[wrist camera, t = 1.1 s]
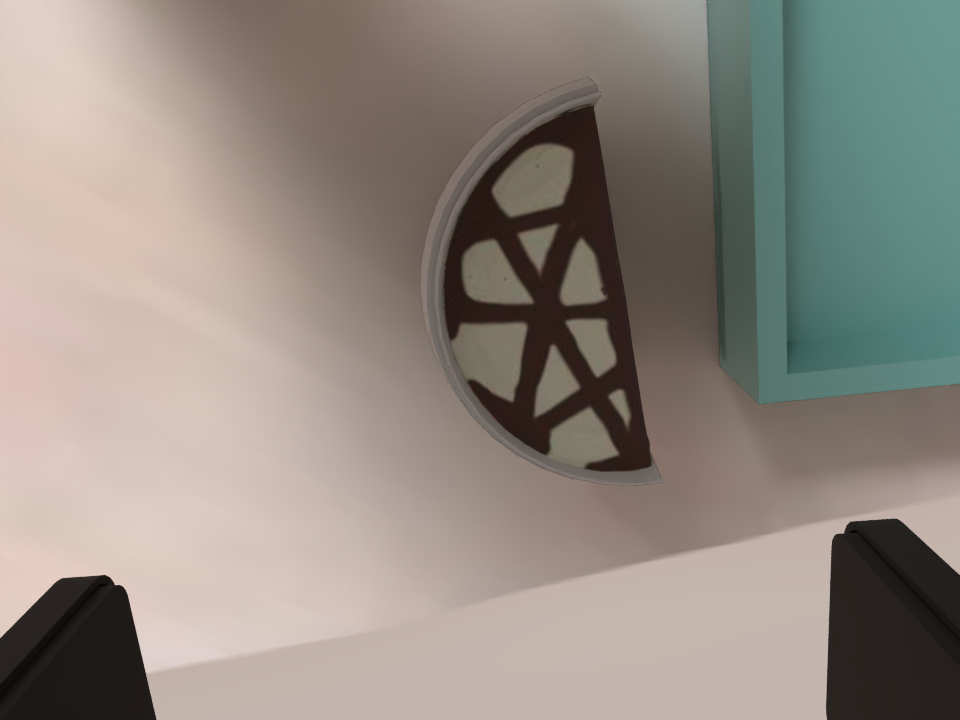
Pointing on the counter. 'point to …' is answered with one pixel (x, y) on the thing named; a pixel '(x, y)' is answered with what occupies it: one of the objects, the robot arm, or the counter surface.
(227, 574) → the counter surface
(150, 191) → the counter surface
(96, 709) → the robot arm
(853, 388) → the tray
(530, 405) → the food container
